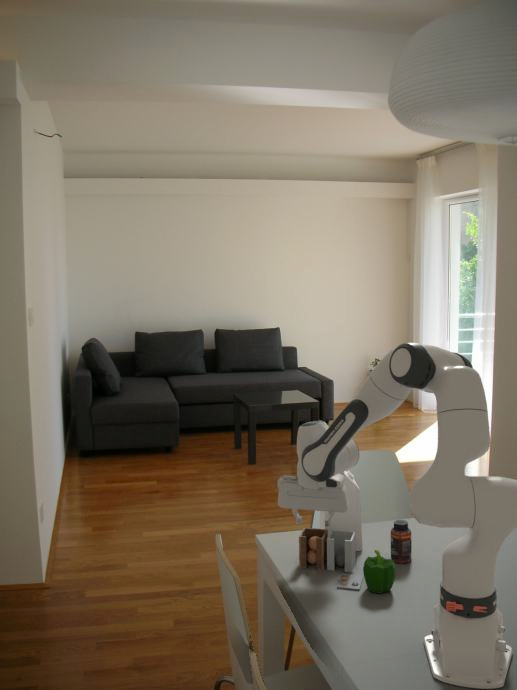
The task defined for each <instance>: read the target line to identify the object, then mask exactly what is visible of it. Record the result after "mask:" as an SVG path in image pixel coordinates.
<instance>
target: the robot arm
mask: <svg viewBox="0 0 517 690" xmlns="http://www.w3.org/2000/svg"><path fill="white" fill-rule="evenodd" d="M481 377H482V376H481V375H480V374H479V372H478V371H477V370H476V369H474V367H473V365H472V363H471V361H470V360H469V359H468V358H467V357H465V356H464V355H462V354H460V353H458V352H453V351H450V350H447V349H443V348H441V347H439V346H435V345H428V344H421V343H419V342H405V343H402V344H399V345H398V346H395V347H394V348H392V349H390V351H388V353H386V354H385V355H384V356H383V358H381V360H379V362H378V363H377V364H376V365H375V366H374V368H373V369H372V371H371V372H370V374H369V375H368V376H367V378H366V379H365V381H364V382H363V383H362V385H361V386H360V387H359V389H358V391H357V392H356V393H355V394H354V396H353V397H352V398H351V400H350V401H349V402H348V404H347V405H346V407H344V409H343V410H342V411H341V412H340V413H339V414H338V416H337V417H336V418H335V419H334V420H333V422H332V423H331V424H330V426H329V425H328V423H326V421H323V420H312V421H308V422H305V423H302V424H300V425H299V427H298V430H297V436H296V454H297V458H298V460H297V465H296V472H297V473H296V475H285V474H284V475H282V476H280V477H278V479H277V488H278V494H277V505H278V507H280V508H281V509H289V510H290V509H291V513H292V514H293V516H294V518H295V523H296V524H299V525H302V524H303V516H301V515H300V514H299V512H298V511H299V510H304V511H317V512H320V511H329V515H330V517H329V518H326V519H325V526H330V525H331V519H332V517H333V515H334V513H335V512H342V513H345V512H346V511H347V510H348V508H349V496H348V490H347V487H346V486H345V485H344V480H345V477H344V475H342V474H339V473H342V472H344V471H346V472H347V471H349V470H350V469H352V468H354V467H355V466H356V465H357V464H358V461H359V459H360V450H359V447H358V444H357V443H356V441H355V440H354V437H355V436H356V435H358V433H359V432H360V431H362V430H363V429H365V428H367V427H368V426H369V425H372V424H375V423H377V422H378V421H381V420H383V419H385V418H387V417H389V416H391V415H392V414H393V413H394V412H395V411H396V410H397V409H398V408H399V407H401V405H403V403H404V402H405V400H406V399H407V398H408V396H409V395H410V394H411V392H412V391H413V390H414V389H415V390H419V391H422V392H426V393H428V394H433V395H434V397H435V401H436V402H435V403H436V419H437V421H436V422H437V446H436V447H437V448H436V454H435V457H434V459H433V462H432V463H431V465H430V467H429V468H428V470H427V471H426V472H425V473H424V474H423V475H422V476H421V477H420V478H419V479H417V480H416V481H415V482H414V484H412V486H411V488H410V490H409V495H408V507H409V510H410V513H411V516H413V518H414V519H415V521H417V522H418V523H419V524H422V525H424V526H425V525H426V526H429V527H434V528H440V529H441V528H443V529H444V528H445V529H446V528H447V529H452V528H453V529H455V528H456V529H460V528H461V529H467V531H466V532H465V534H463V535H462V536H461V537H459V538H456V539H454V540H453V541H451V542H450V543H449V544H448V545H447V546H446V548H444V550H443V553H442V562H441V563H442V565H441V567H442V571H441V572H442V574H441V577H442V578H441V579H442V580H441V582H440V585H439V586H440V587H439V602H438V603H437V604H435V606H433V608H432V609H433V611H432V612H433V614H432V615H433V617H432V629H431V634H428V635H426V636H424V637H423V646H424V648H425V652H426V656H427V660H428V663H429V666H430V667H429V668H430V670H431V674H432V677H433V678H434V679H436V680H438V681H441V682H442V683H445V684H446V683H447V684H450V685H453V686H458V687H462V688H463V687H464V688H469V689H470V688H471V689H481V690H484V689H486V690H493V689H499V688H502V687H504V686H505V681H506V678H507V674H508V670H509V667H510V663H511V659H512V656H513V648H512V646H510V645H508V644H507V641H506V640H504V636H503V634H505V631H506V630H505V629H506V627H505V626H504V615H503V613H501V611H500V610H499V609H498V607H497V602H498V595H497V589H496V587H495V586H496V585H495V584H496V583H495V580H496V566H497V558H498V555H499V552H500V549H501V547H502V545H503V544H504V542H505V541H506V539H507V538H508V537H509V536H510V535H511V534H512V533H513V532H514V531H515V530H516V529H517V479H514V478H509V477H504V476H498V475H497V476H496V475H495V476H488V475H487V476H485V475H484V476H482V475H481V476H478V475H477V476H476V475H475V476H473V475H470V476H469V475H466V472H465V471H466V470H465V469H466V466H467V465H468V464H470V463H472V462H474V461H475V460H477V459H479V458H481V457H482V456H484V455H485V454H486V453H488V452H489V451H488V450H490V446H491V433H490V431H491V430H490V421H489V411H488V404H487V403H488V402H487V397H486V393H485V392H486V391H485V389H484V385H483V382H482V378H481Z"/></svg>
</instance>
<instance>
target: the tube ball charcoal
mask: <svg viewBox="0 0 517 690" xmlns="http://www.w3.org/2000/svg"><path fill="white" fill-rule="evenodd" d="M334 560H335V561H334V564H336V565H337V566H338V567H345V553H344V552H338V553H337V554H336V555H335V558H334Z"/></svg>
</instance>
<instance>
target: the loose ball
mask: <svg viewBox="0 0 517 690" xmlns="http://www.w3.org/2000/svg"><path fill="white" fill-rule="evenodd" d="M316 538H320V537H318V536H313V537H311V538H310V540H309V547H310V548H311V549H312V550H314V551H316Z"/></svg>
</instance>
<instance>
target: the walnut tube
mask: <svg viewBox="0 0 517 690" xmlns="http://www.w3.org/2000/svg"><path fill="white" fill-rule="evenodd" d="M313 536H318V537H320V538H316V554H317V563H316V569H317V570H325V567H326V566H327V538H328V530H327V529H320V528H313V527H303V529H302V530H301V532H300V533H299V536H298V561H299V562H298V563H299V564H298V565H299V566H298V567H299V568H306V569H307V566H308V565H307V562H308V560H307V557H306V555H307V553H308V551H309V550H312V549H311V548H310V547H309V540H310V538H311V537H313Z"/></svg>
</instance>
